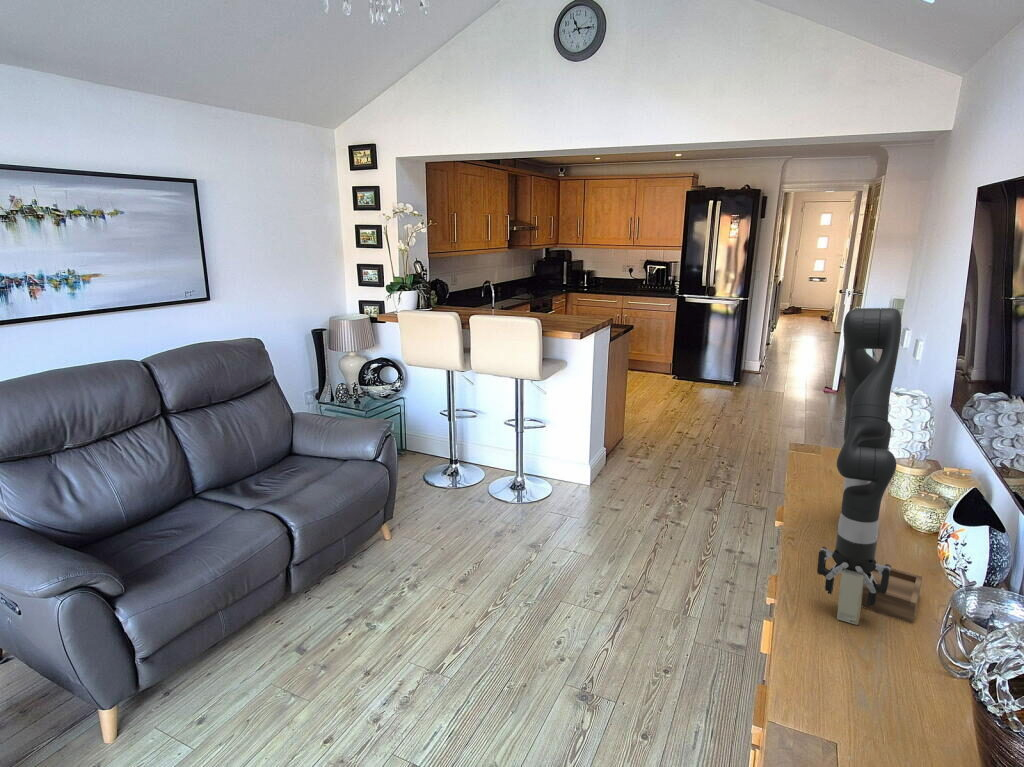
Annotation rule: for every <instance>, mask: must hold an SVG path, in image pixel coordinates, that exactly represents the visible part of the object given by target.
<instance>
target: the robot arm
mask: <svg viewBox="0 0 1024 767" xmlns="http://www.w3.org/2000/svg"><path fill="white" fill-rule="evenodd" d="M842 329H843V330H842V331H843V340H844V354H845V381H844V392H845V394H844V396H845V419H844V427H843V428H844V429H843V440H844V443H843V445H842V447H841V449H840V452H839V453H838V456H837V459H836V468H837V471H838V473H839V474H840V475H841V476H842V477H843V478H844V483H843V484H844V485H843V492H842V502H841V508H840V509H841V510H840V515H839V519H838V524H837V533H836V541H835V549H834V550H830V549H827V547H826V546H821V548H820V550H819V551H818V560H817V570H816V573H817V575H819V576H824V577H825V584H824V591H827V594H828V595H832V594H833V592H834V583H835V577H836V576H838V575H840V574H841V573H842V570H844V569H847V570H851V571H854V572H858V573H859V574H860V575H864V580H863V582H864V583H865V584H866V585H867V587H868V589H869V593H868V600H867V606H869V607H871V605H874V604H875V601H876V595H877V593H879V592H880V593H882V594H885V593H886V591H887V588H888V583H889V577H890V571H891V568H892V565H890V564H889V563H886V564H884V565H883V564H880V563H877V562H876V550H877V543H878V536H879V528H880V526H879V524H880V523H879V518H880V517H879V516H880V511H881V503H882V499H883V496H884V494H885V492H886V489H887V488H888V486H889V484H890V482H891V480H892V478H893V477H894V476H895V474H896V469H897V460H896V457H895V455H894V454H893V452H892V451H890V450H889V447H890V441H891V437H892V426H891V425H892V424H891V423H890V422H889V413H890V412H889V409H890V408H889V406H890V399H891V398H890V396H891V392H892V391H891V390H892V385H893V381H894V376H895V372H896V367H897V362H898V361H897V360H898V357H899V349H900V342H901V336H902V316H901V313H900V311H899V310H898V309H897V308H892V307H872V308H871V307H867V308H863V307H862V308H853V309H850V310H849V311H848V312H847V313H846V314H845V317H844V320H843V328H842ZM867 350H882V351H881V354H880V357H879V359H878V362H877V360H876V359H874V358H873V357H872V356H871V355H870V354H868V353H867ZM830 558H832V559H833V561H834V562H835V564H834V565H833V566H831V568H830V569H828V568H826V566H827V561H828V560H829V559H830ZM875 569H877V570H878V573H879V575H880V576H882V579H881V584H877V583H876V581H875V579H874V577H873V574H872V571H873V570H875Z"/></svg>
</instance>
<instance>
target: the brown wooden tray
mask: <svg viewBox="0 0 1024 767" xmlns="http://www.w3.org/2000/svg"><path fill="white" fill-rule="evenodd" d="M872 574H873V577H874V579H875V581H876V583H877V584H881V579H882V576H880V575H879V573H878V570H877V569H875V570H873V571H872ZM922 579H923V576H921V575H917V574H915V573H910V572H906V571H903V570H900V569H896V568H892V567H891V571H890V577H889V583H888V588H887V591H886V593H885V594H882V593H880V592H879V593H877V595H876V601H875V604H874V605H871V607H869V606H867V600H868V593H869V589H868V587H867V585H866V584H865V583H864V586H863V595H862V604H861V606H863V607H862V608H864V607H865V609H867V608H868V610H870V609H871V610H870V611H873V610H874V612H876V613H878V614H879V613H880V614H883V615H886V616H889V617H893V618H895V619H899V620H901V621H904V622H908V623H911V624H914V619H915V615H916V611H917V606H918V602H919V599H920V598H919V597H920V592H921V587H922Z"/></svg>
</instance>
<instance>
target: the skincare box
mask: <svg viewBox="0 0 1024 767" xmlns="http://www.w3.org/2000/svg"><path fill="white" fill-rule="evenodd" d="M840 574H841V575H840V585H839V593H838V604H837V612H836V613H837V614H836V615H837V616H836V620H838V621H842V622H845V623H848V624H851V625H856V626H859V622H860V616H861V611H862V607H861V604H862V595H863V586H864V582H863V580H864V575H860V574H859V573H858V572H854V571H851V570H847V569H844V570H842V572H840Z"/></svg>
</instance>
